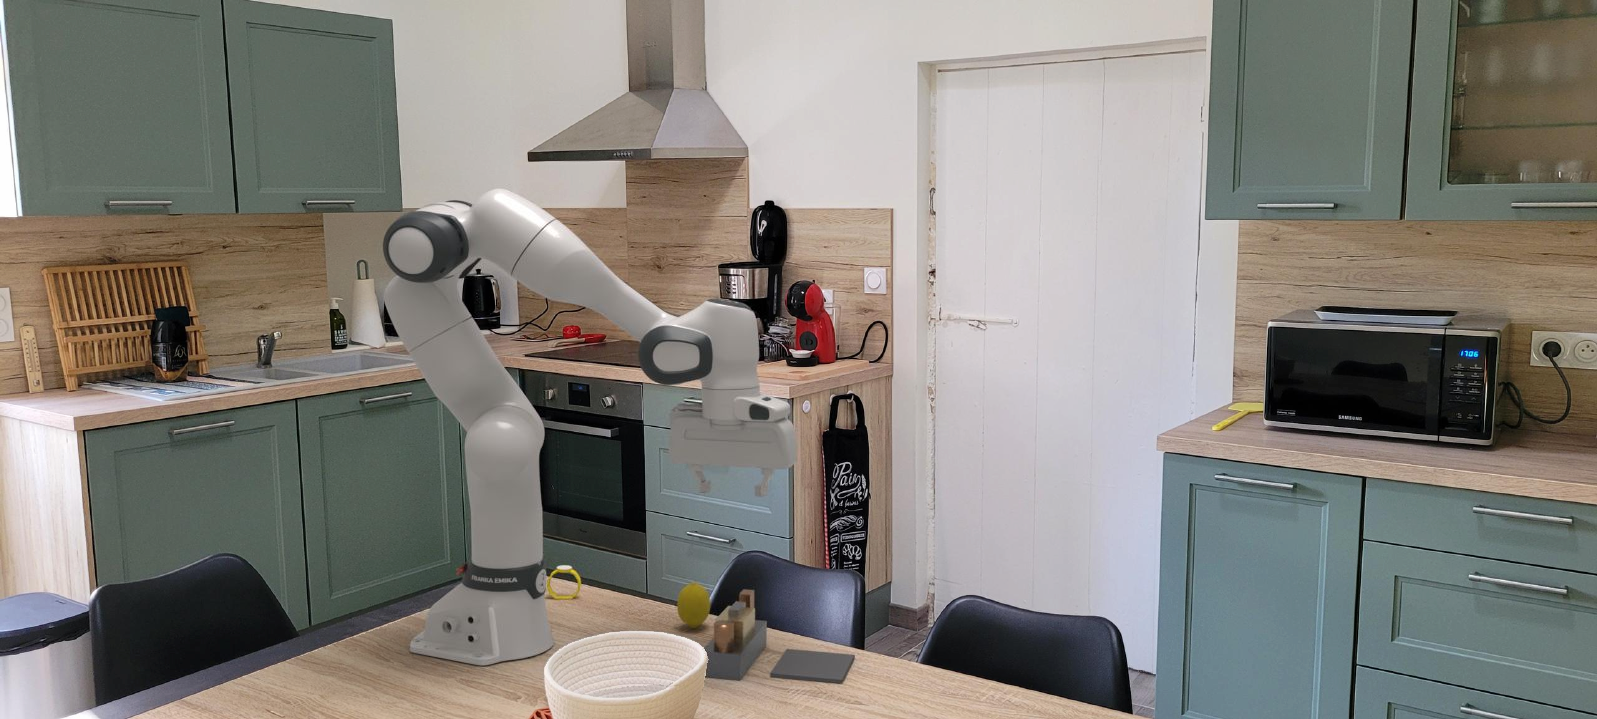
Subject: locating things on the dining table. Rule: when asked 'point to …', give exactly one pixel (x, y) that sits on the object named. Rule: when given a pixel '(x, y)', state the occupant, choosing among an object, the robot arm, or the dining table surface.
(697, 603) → the lemon
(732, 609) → the lever cap
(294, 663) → the dining table surface
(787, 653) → the rubber mat
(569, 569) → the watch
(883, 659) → the dining table surface
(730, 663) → the plane body
